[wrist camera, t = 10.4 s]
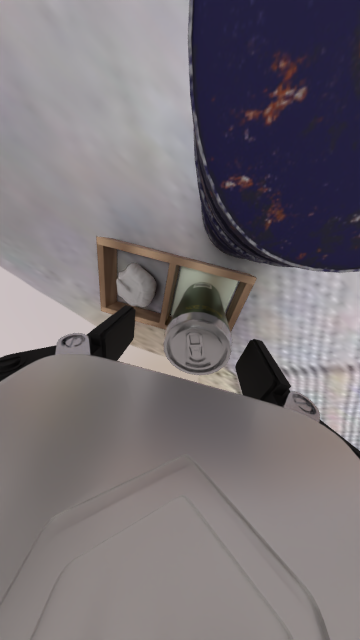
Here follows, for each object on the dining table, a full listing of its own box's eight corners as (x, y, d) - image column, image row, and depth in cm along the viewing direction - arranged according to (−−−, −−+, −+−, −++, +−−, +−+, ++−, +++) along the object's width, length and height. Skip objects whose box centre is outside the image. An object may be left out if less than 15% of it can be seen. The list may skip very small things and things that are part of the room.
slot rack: (112, 305, 24) (101, 312, 21) (111, 238, 19) (96, 236, 16) (221, 336, 23) (223, 347, 20) (249, 273, 18) (256, 278, 16)
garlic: (120, 267, 21) (96, 272, 16) (152, 258, 19) (136, 260, 15) (135, 304, 23) (117, 317, 19) (164, 298, 22) (153, 311, 17)
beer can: (181, 283, 20) (153, 320, 10) (219, 278, 19) (235, 315, 8) (186, 316, 22) (167, 376, 12) (220, 314, 21) (234, 378, 11)
